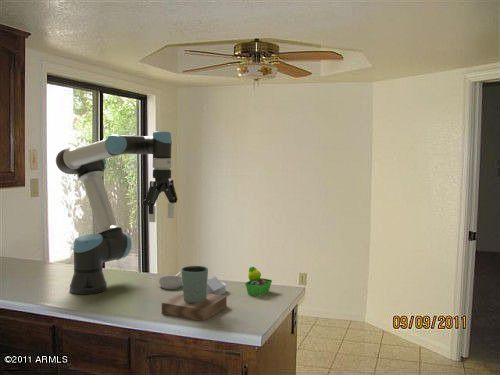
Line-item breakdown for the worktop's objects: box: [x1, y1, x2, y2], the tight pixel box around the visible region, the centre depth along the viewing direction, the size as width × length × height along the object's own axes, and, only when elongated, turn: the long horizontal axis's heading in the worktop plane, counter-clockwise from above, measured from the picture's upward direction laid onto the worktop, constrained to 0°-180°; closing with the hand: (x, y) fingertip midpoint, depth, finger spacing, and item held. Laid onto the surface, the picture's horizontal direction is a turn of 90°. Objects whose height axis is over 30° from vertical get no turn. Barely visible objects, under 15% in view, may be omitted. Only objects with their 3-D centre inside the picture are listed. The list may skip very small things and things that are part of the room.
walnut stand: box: [161, 291, 228, 322], centre depth 180 cm, size 18×18×4 cm
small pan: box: [158, 270, 183, 290], centre depth 214 cm, size 11×18×4 cm, turn 169°
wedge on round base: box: [206, 276, 227, 295], centre depth 201 cm, size 9×7×13 cm
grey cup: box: [180, 265, 209, 303], centre depth 179 cm, size 10×10×12 cm
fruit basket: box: [244, 266, 273, 297], centre depth 203 cm, size 11×9×11 cm
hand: (161, 220), depth 195 cm, fingers open, 13 cm apart
